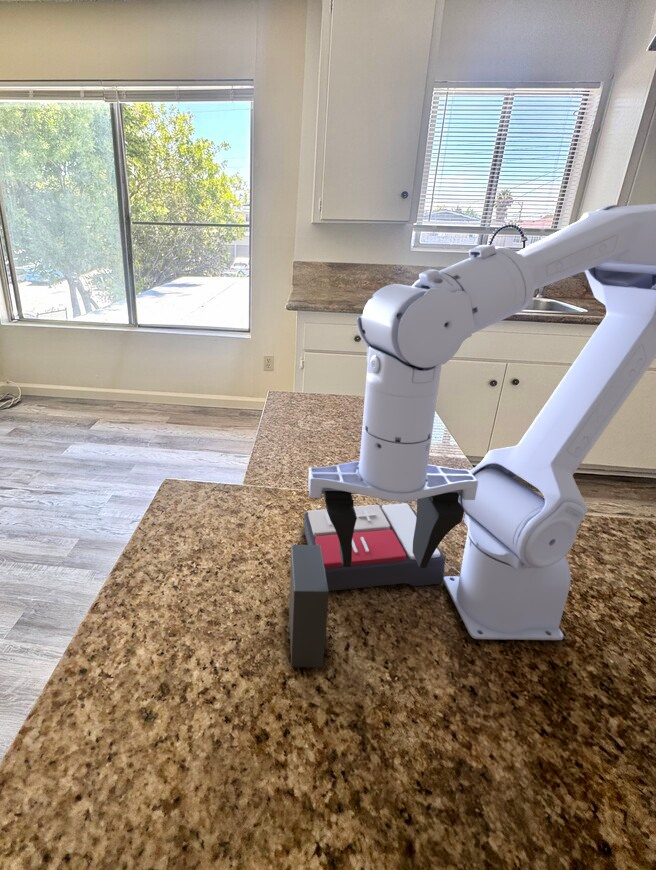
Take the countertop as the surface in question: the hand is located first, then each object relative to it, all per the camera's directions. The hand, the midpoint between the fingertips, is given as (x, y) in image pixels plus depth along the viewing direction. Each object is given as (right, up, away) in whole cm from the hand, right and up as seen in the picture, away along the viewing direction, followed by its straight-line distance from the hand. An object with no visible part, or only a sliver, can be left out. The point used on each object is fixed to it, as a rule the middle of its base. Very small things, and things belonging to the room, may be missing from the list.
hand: (382, 559), depth 40 cm
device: (-7, -9, +3) cm, 12 cm away
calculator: (+2, -6, +14) cm, 16 cm away
